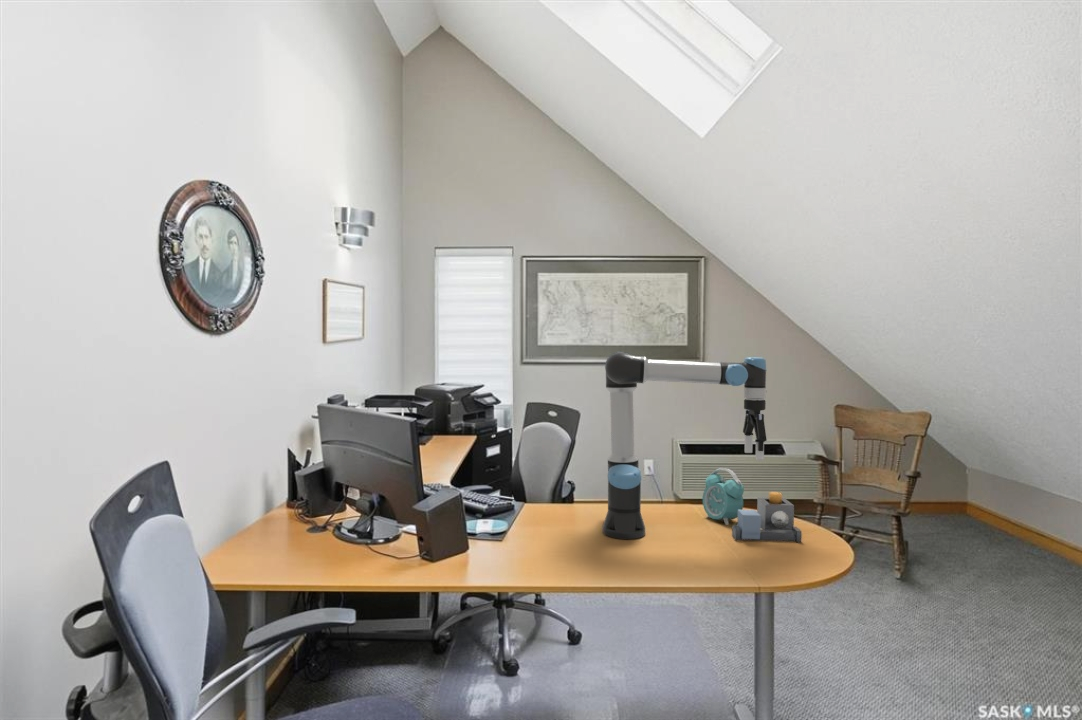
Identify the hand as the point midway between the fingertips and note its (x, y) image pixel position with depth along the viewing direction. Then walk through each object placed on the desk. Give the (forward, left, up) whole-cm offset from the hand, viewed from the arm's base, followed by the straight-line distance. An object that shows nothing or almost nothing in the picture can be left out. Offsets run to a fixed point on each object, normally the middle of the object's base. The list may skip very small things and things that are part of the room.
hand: (753, 456), depth 221 cm
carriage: (-5, -14, -26) cm, 31 cm away
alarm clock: (-9, +8, -27) cm, 29 cm away
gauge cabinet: (+8, -1, -26) cm, 28 cm away
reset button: (+8, -1, -17) cm, 19 cm away
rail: (+1, -14, -26) cm, 30 cm away
